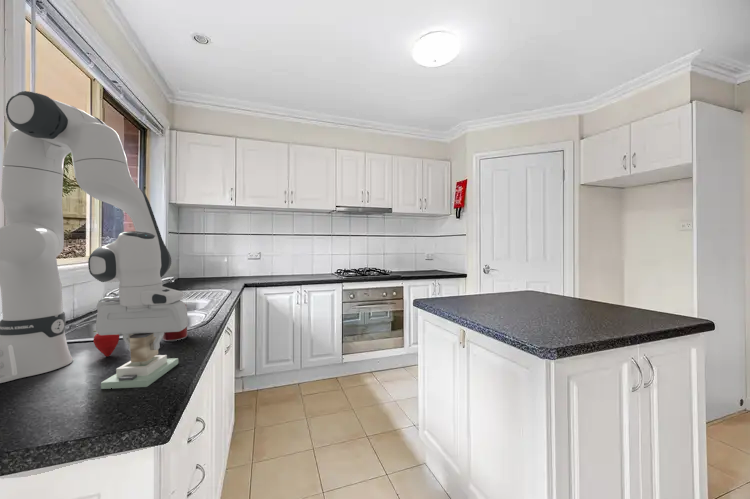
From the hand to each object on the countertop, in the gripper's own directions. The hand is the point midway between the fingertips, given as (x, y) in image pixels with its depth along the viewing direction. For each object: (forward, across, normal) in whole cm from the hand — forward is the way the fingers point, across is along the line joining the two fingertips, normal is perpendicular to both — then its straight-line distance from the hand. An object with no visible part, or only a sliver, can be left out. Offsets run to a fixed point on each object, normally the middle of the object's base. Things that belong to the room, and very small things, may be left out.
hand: (144, 349), depth 81 cm
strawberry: (+6, -19, +15) cm, 25 cm away
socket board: (+6, 0, 0) cm, 6 cm away
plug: (+2, 0, 0) cm, 2 cm away
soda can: (+7, -8, +31) cm, 33 cm away
